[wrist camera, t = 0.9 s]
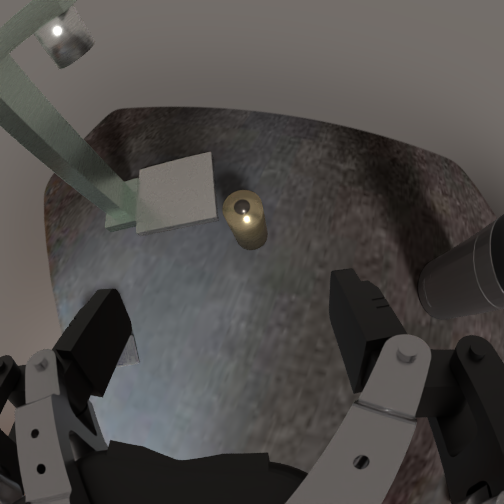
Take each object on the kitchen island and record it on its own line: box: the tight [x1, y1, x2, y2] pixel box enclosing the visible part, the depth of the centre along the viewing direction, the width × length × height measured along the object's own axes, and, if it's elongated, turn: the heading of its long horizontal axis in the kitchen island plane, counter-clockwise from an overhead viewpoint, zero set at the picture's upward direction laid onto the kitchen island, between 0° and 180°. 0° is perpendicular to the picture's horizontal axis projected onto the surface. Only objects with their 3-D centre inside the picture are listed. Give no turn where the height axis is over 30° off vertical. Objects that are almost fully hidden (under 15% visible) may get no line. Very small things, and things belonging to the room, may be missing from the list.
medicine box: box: [116, 335, 139, 367], centre depth 33 cm, size 8×4×9 cm, turn 105°
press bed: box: [0, 0, 219, 236], centre depth 26 cm, size 30×12×37 cm, turn 98°
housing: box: [223, 190, 268, 250], centre depth 35 cm, size 4×4×9 cm
